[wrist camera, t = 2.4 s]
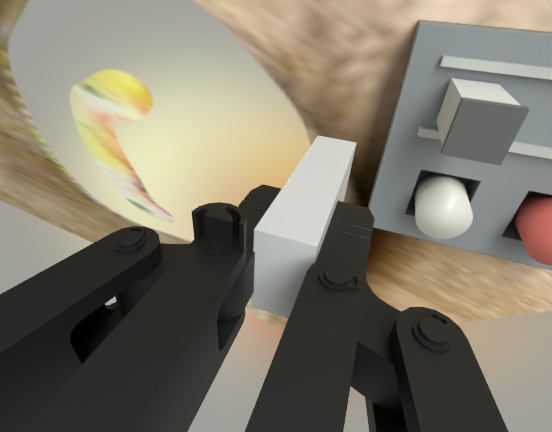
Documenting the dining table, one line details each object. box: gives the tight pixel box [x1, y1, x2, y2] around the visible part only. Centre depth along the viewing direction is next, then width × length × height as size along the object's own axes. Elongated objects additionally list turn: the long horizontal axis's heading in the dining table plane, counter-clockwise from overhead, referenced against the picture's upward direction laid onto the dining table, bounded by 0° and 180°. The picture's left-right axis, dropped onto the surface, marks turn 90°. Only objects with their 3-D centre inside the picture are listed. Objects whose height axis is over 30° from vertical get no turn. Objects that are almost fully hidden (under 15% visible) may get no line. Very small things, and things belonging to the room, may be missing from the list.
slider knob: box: [436, 78, 530, 166], centre depth 20 cm, size 3×3×7 cm
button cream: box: [415, 173, 473, 239], centre depth 27 cm, size 4×4×4 cm
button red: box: [513, 194, 552, 266], centre depth 25 cm, size 4×4×4 cm
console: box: [368, 20, 552, 271], centre depth 26 cm, size 19×17×6 cm
